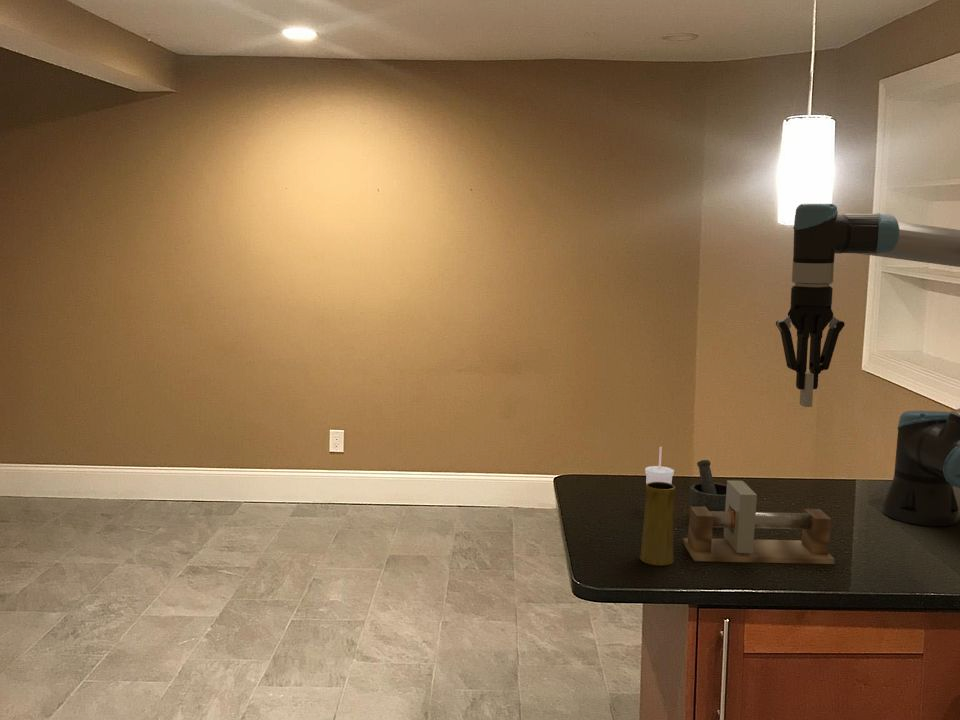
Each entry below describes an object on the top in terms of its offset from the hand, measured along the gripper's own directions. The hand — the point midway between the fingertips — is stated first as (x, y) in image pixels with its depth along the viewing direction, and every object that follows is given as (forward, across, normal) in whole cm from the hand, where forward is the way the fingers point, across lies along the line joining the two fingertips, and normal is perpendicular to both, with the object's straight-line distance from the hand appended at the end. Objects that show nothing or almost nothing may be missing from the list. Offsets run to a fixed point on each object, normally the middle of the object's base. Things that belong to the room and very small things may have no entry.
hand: (805, 405), depth 192 cm
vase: (+26, +32, +13) cm, 43 cm away
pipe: (+22, +11, +9) cm, 26 cm away
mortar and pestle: (+27, +15, -11) cm, 33 cm away
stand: (+27, +12, +9) cm, 30 cm away
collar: (+25, +15, +9) cm, 30 cm away
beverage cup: (+27, +25, -17) cm, 40 cm away
